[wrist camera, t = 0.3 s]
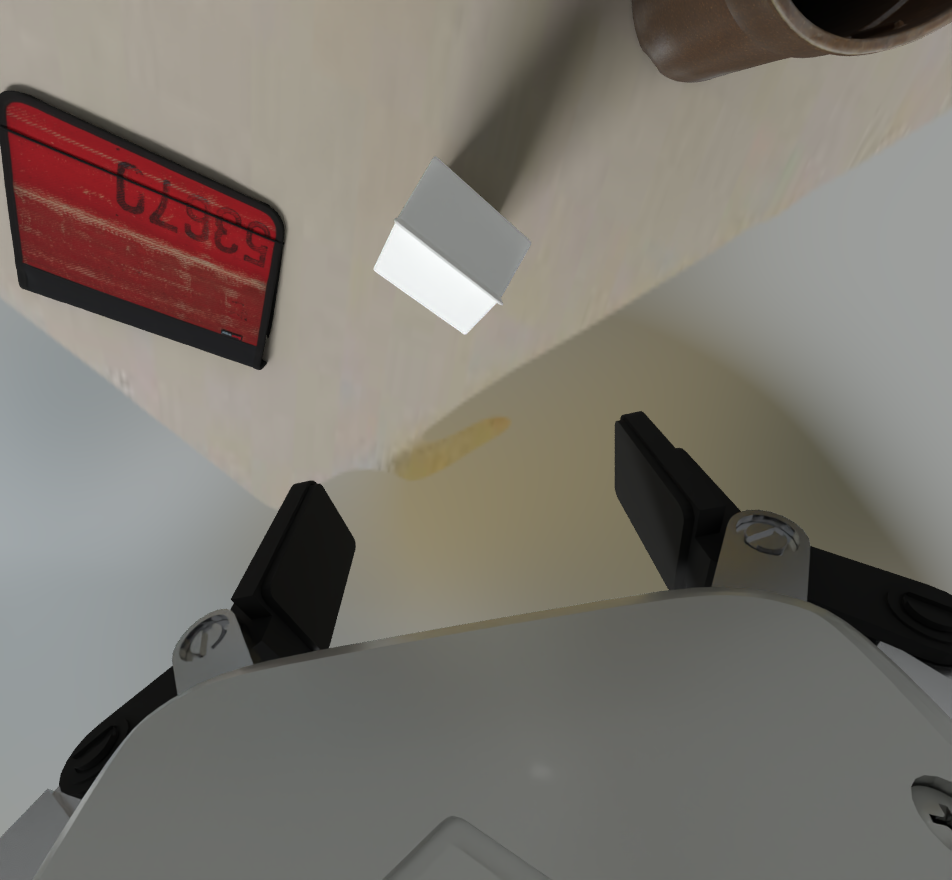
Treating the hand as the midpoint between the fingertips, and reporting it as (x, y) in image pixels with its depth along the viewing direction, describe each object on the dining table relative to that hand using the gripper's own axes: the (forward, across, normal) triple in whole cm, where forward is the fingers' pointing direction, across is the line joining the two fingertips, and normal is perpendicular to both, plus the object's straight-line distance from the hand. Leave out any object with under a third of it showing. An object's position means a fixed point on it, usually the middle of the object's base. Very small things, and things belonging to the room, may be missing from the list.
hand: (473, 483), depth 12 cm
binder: (+32, +26, -9) cm, 42 cm away
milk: (+31, -1, -5) cm, 32 cm away
